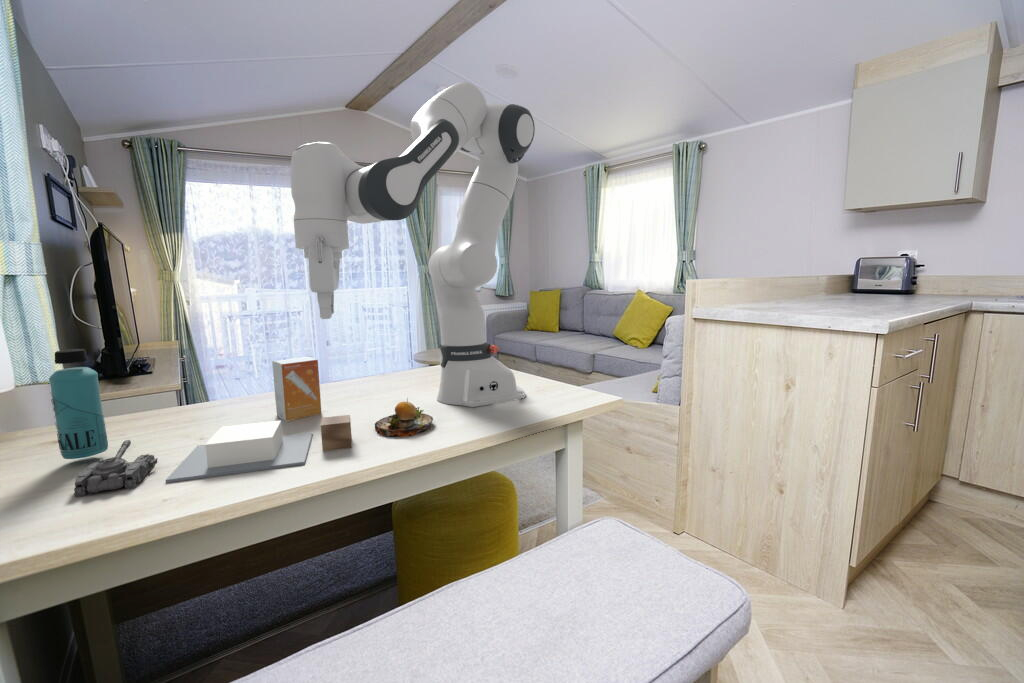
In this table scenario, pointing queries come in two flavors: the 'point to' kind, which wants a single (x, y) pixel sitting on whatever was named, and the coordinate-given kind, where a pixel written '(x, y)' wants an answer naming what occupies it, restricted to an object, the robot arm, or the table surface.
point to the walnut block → (336, 433)
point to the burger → (404, 421)
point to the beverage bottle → (77, 407)
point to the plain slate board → (288, 455)
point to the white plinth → (244, 443)
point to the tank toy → (113, 473)
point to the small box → (296, 388)
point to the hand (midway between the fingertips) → (327, 316)
